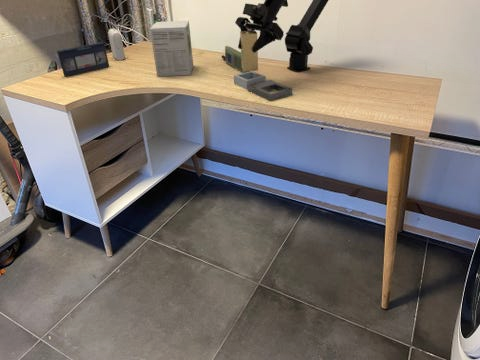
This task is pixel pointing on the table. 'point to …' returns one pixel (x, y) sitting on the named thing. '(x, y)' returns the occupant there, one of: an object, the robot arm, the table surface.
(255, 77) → the parts tray
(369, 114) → the table surface
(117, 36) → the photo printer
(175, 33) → the supplement box
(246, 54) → the brass tower with button
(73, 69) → the vhs cassette tape
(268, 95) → the grey holder tray
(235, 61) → the handheld radio
